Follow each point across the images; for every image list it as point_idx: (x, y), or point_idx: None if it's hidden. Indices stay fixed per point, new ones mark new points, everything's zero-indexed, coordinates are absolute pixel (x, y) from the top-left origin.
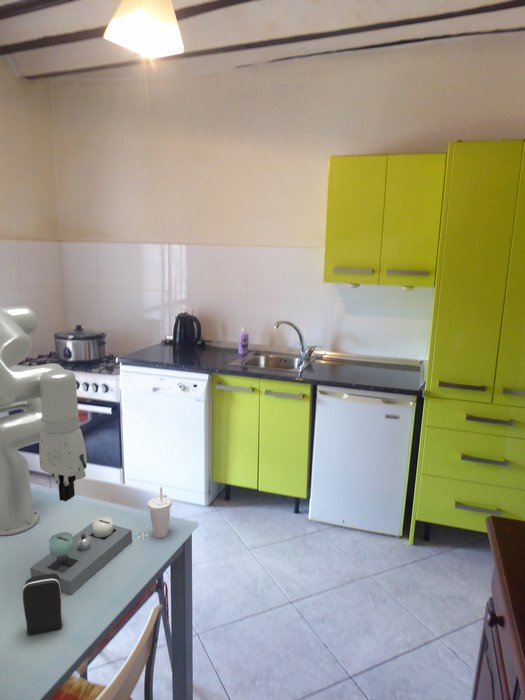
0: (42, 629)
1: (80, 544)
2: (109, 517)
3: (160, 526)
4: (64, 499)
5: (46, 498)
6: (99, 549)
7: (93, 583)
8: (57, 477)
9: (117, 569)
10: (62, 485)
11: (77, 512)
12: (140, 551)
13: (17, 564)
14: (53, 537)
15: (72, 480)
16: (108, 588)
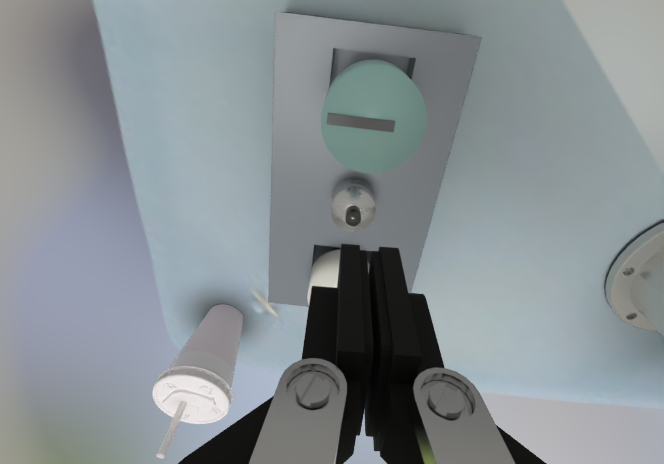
0: None
1: (351, 188)
2: None
3: (199, 329)
4: (346, 251)
5: (630, 376)
6: (297, 201)
7: (255, 89)
8: (459, 462)
9: (232, 167)
10: (380, 363)
11: (503, 345)
12: (226, 249)
13: (565, 97)
14: (413, 120)
15: (216, 441)
16: (196, 82)
